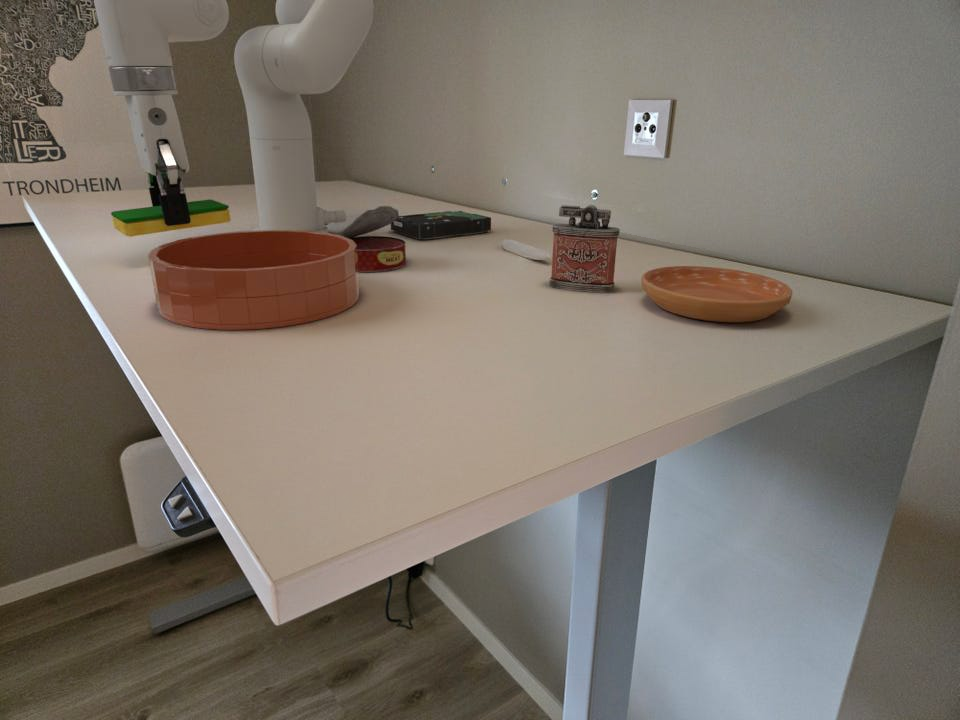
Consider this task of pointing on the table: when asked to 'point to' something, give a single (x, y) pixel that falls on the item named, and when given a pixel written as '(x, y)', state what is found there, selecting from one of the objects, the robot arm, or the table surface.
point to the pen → (525, 250)
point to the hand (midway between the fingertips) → (172, 218)
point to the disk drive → (441, 224)
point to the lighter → (584, 250)
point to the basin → (254, 278)
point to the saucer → (715, 293)
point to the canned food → (376, 241)
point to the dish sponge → (153, 220)
